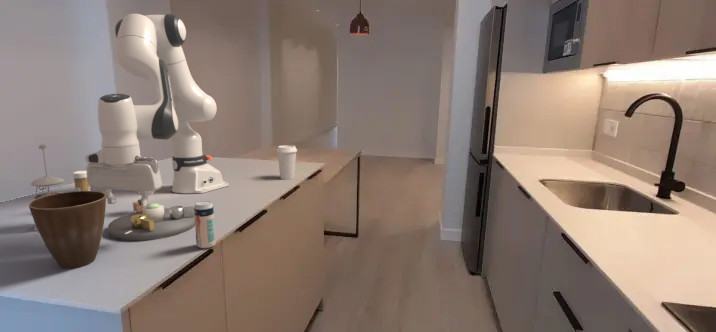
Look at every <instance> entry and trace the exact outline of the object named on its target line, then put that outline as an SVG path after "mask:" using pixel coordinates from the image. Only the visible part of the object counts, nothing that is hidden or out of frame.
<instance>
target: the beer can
mask: <svg viewBox="0 0 716 332" xmlns="http://www.w3.org/2000/svg"><path fill="white" fill-rule="evenodd" d="M194 206H195V207H194V215H195V226H194V227H195V243H196V247H197V248H200V249H202V250H203V249H204V250H205V249H210V248H213V247H214V246H215V245H216V229H215V228H216V227H215V214H214V213H215V212H214V205H213V202H211V201H208V200H203V201H197V202H196V203H195V204H194Z"/></svg>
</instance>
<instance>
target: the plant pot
mask: <svg viewBox="0 0 716 332" xmlns="http://www.w3.org/2000/svg"><path fill="white" fill-rule="evenodd" d="M106 203H107V198H106V194H105V193H103V192H102V191H96V190H91V191H77V192H75V191H68V192H62V193H60V194H55V195H50V196H46V197H42V198H39V199H34V200H32V201H30V202H29V204H28V208H29V211H30V214H31V217H32V218H33V219H32V220H33V221H34V224H35V226H36V227H37V229H38V231H37V232H38V233H39V235H40V237H41V239H42V241H43V244H44V246H46V248H47V250H48V252H49V254H50V255H51V256H52V258H53V259H54V261H55V263H56V264H57V265H58V267H59V268H62V269H75V268H77V269H78V268H81V267H84V266H87V265H89V264H91V263H93V262H94V261H95V260H96V258H97V256H98V252H99V249H100V244H101V241H102V235H103V231H104V224H105V216H106V206H107V205H106Z"/></svg>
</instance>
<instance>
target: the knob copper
mask: <svg viewBox="0 0 716 332" xmlns="http://www.w3.org/2000/svg"><path fill="white" fill-rule="evenodd" d="M138 204H139V203H138V201H134V202H132V206H133V207H132V208H133V211H134V212H137V214H142V208H143V207H145V206H139V205H138ZM148 204H149V203H148ZM148 204H147V205H148ZM147 205H146V206H147Z"/></svg>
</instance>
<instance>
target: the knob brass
mask: <svg viewBox="0 0 716 332" xmlns="http://www.w3.org/2000/svg"><path fill="white" fill-rule="evenodd" d="M131 226H132V228H135V229H137V228H144V229H147V230H154V222H153V220H150V219H147V217H146V215H145V214H137V215H133V216H131Z"/></svg>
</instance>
